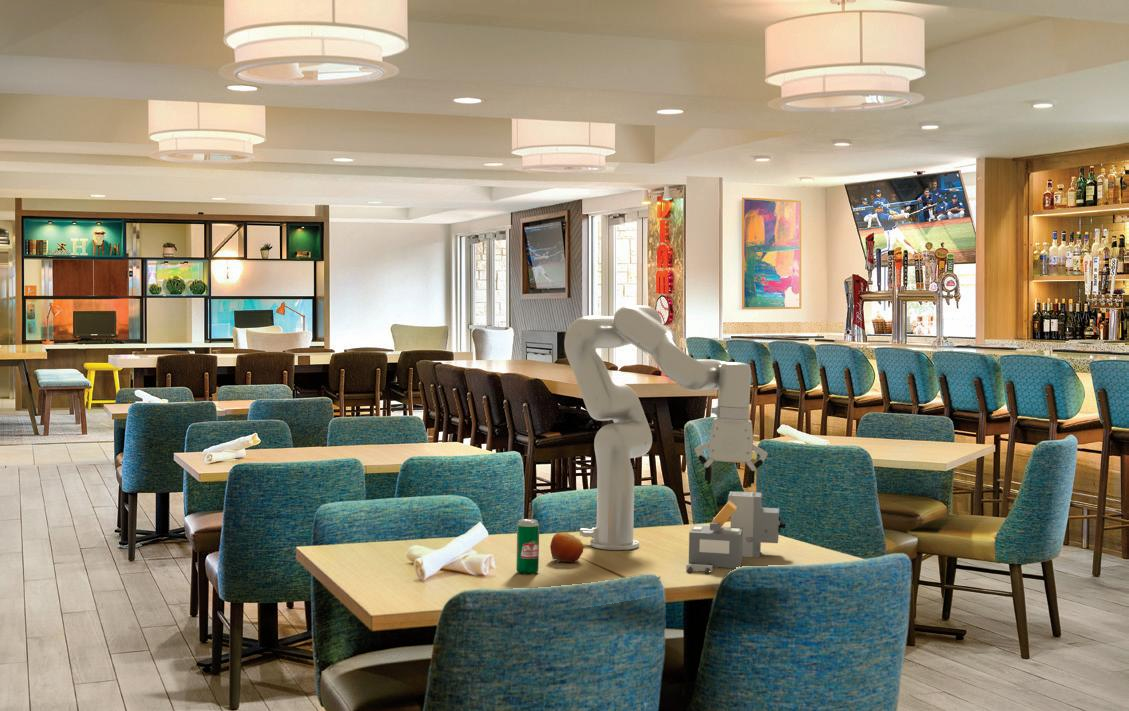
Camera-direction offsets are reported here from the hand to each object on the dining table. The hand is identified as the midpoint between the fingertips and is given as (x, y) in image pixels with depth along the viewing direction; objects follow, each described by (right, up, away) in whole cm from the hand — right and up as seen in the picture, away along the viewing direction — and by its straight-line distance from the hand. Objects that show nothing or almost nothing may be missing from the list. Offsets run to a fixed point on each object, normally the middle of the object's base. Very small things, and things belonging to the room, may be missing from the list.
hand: (729, 484), depth 281 cm
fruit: (-39, -19, 0) cm, 43 cm away
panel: (-3, -19, +1) cm, 19 cm away
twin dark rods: (-8, -19, -7) cm, 22 cm away
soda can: (-48, -19, -13) cm, 53 cm away
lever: (-3, -9, +1) cm, 10 cm away
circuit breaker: (+8, -19, +13) cm, 24 cm away
